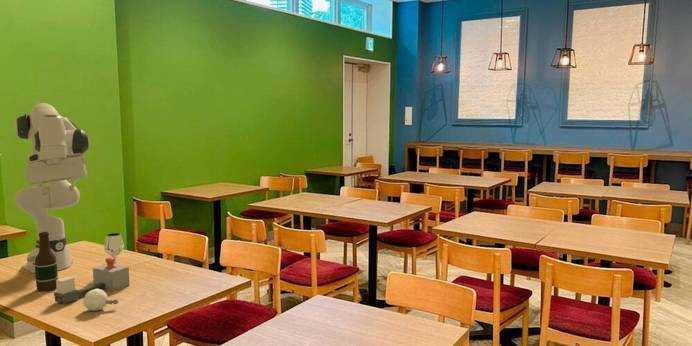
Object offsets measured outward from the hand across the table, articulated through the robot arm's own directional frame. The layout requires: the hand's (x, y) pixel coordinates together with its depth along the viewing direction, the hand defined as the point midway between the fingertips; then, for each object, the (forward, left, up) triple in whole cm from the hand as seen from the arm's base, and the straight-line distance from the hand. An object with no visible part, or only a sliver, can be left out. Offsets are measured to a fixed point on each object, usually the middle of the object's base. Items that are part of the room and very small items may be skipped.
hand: (58, 192), depth 184 cm
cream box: (-4, +3, -43) cm, 44 cm away
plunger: (-4, +23, -40) cm, 47 cm away
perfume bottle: (+15, +4, -44) cm, 46 cm away
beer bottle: (-24, +8, -44) cm, 50 cm away
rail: (-4, +9, -43) cm, 45 cm away
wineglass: (-17, +35, -44) cm, 58 cm away
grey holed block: (-4, +23, -43) cm, 49 cm away
